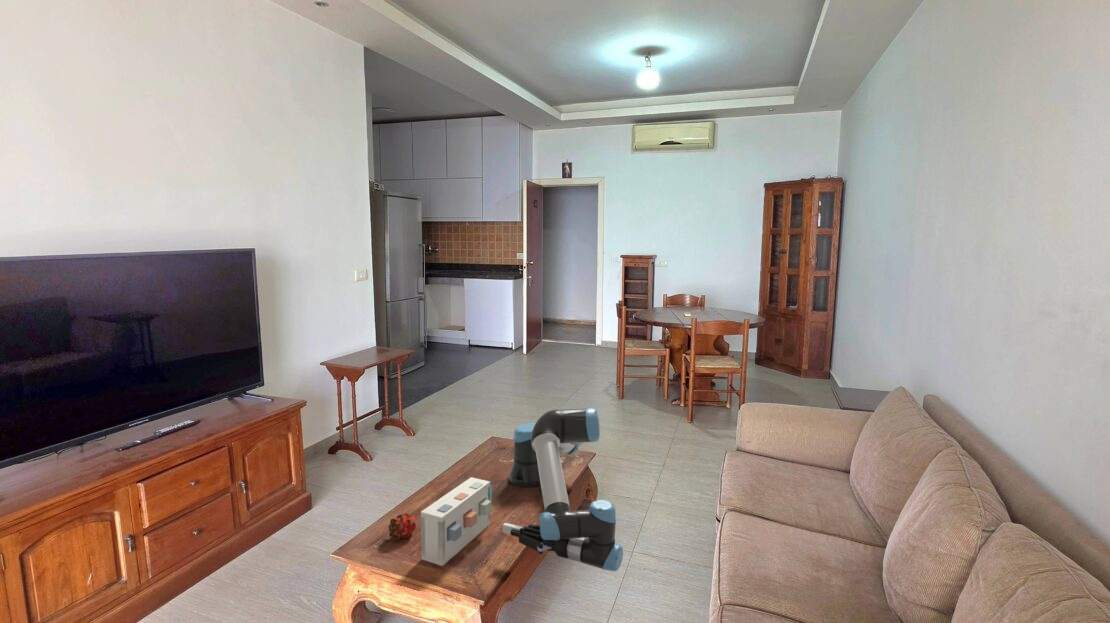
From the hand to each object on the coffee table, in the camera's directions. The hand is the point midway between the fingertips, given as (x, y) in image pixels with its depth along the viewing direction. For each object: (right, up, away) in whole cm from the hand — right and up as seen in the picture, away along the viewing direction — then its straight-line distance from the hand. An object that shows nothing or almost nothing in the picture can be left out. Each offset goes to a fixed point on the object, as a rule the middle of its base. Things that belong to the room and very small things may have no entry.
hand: (504, 527), depth 176 cm
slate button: (-16, -2, -2) cm, 17 cm away
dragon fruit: (-35, -8, +11) cm, 38 cm away
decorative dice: (-13, -5, +33) cm, 36 cm away
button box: (-16, -8, +9) cm, 20 cm away
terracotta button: (-13, -1, +6) cm, 14 cm away
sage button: (-9, 0, +14) cm, 17 cm away
